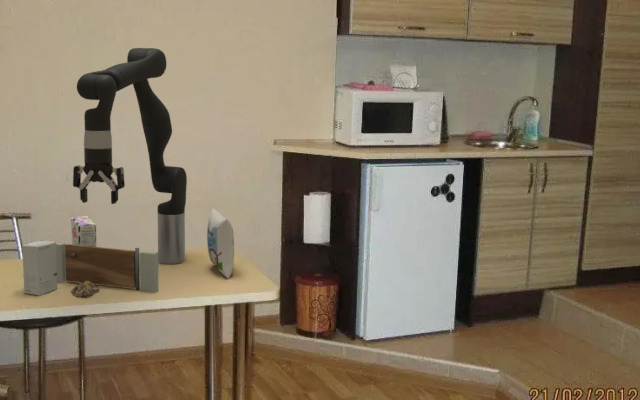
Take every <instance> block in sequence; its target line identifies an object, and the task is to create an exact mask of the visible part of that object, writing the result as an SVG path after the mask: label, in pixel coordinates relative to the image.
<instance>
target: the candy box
mask: <svg viewBox="0 0 640 400" xmlns="http://www.w3.org/2000/svg"><path fill="white" fill-rule="evenodd" d="M70 222H71V223H70V225H71V244H72V245H82V246H92V247H97V224H96V223H95V222H94V221H93V220H92V219H91V218H90V217H89V216H88V215H81V216H71V217H70Z"/></svg>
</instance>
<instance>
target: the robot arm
mask: <svg viewBox="0 0 640 400" xmlns="http://www.w3.org/2000/svg"><path fill="white" fill-rule="evenodd" d="M126 58H127V60H126V62H122V63H118V64H117V63H116V64H114V65H112V66H110V67H107V68H105V69H103V70H96V71H92V72H87V73H85V74H83V75H81V76H80V77H79V78H78V80H77V83H76V91H77V94H78V95H79V97H81V98H83V99H84V100H89V101H98V104H97V106H96V107H93V108H89V109H86V110H85V112H84V114H83V115H84V135H83V150H84V151H83V152H84V153H83V155H84V166H81V165H76V166H73V171H72V172H73V173H72V174H73V175H72V186H73V187H74V188H77V189H79V196H80V197H79V200H80V201H82V203H84V204H85V203H87V202H88V186H89V185H90V184H91V182H92V183H96V182H99V183H105V184H106V185H107V186H108V187H109V188H110V190H111V191H110V203H111V204H112V205H115V204H116V203H117V202H118V200H119V190H121V189H124V188H125V174H124V173H125V172H124V167H123V166H121V167H113V140H112V139H113V138H112V137H113V136H112V132H111V131H112V130H111V129H112V126H111V125H112V123H111V121H112V120H111V116H112V112H113V111H112V110H113V106H114V102H115V99H116V95H117V92H118V91H121V90H124V89H125V88H126V87H129V86H131V85H132V86H133V89H134V92H135V95H136V101H137V104H138V108H139V113H140V119H141V125H142V129H143V134H144V138H145V142H146V143H145V144H146V146H147V152H148V153H147V154H148V159H149V160H148V161H149V170H150V176H151V177H150V178H151V183H152V186H153V189H154V190H155V191H156V192H158V193H163V194H171V196H170V199H169V200H167V201H164V202H161V203H159V204H158V205H157V210H156V211H157V253H158V263H159V264H160V263H161V264H163V265H164V264H165V265H175V264H176V265H177V264H182V263H184V262H185V260H186V221H185V220H186V219H185V218H186V217H185V216H186V214H185V213H186V212H185V211H186V202H187V186H188V185H187V182H188V178H187V172H186V170H185V169H184V168H183V167H181V166H173V165H172V166H171V165H166V164H165V161H164V153H165V150H166V147H167V146H168V144H169V141H170V140H171V137H172V135H173V129H172V127H173V126H172V122H171V116H170V112H169V110H168V109H167V107H166V105H165V104H164V103H163V102H162V100H161V99H160V98H159V97H158V96H157V95H156V94H155V92H154V91H153V89H152V87H151V85H150V82H149V79H155V78H161V77H162V76H163V75H164V74H165V72H166V69H167V57H166V55H165V53H164V51H163V50H161V49H159V48H153V47H152V48H151V47H150V48H148V47H134V48H131V49H130V50H129V51H128V53H127V57H126ZM83 172H84V174H85V175H86V176H85V177H84V178H83V180H81V178H82V177H81V176H82V174H83ZM113 173H114V175H115V176H116V181H115V179H114V177H113V176H112V175H113Z"/></svg>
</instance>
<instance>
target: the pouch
mask: <svg viewBox="0 0 640 400" xmlns="http://www.w3.org/2000/svg"><path fill="white" fill-rule="evenodd" d="M206 231H207V232H206V235H207V236H206V238H207V239H206V240H207V252H208V256H209V259H210V261H211V263H212V264H213V265H214V266H215V267H216V269H217V270H219V272H220V273H221V274H222V275H223V276H224V277H225V278H226V279H230V276H231V275H232V272H233V268H234V262H235V237H234V236H235V235H234V229H233V226H232V223H231V222H230V220H229V219H227V218H225V216H223V215H222V214H221V213H220V212H219V211H218V210H216V209H215V208H214V207H212V209H211V211H210V213H209V217H208V221H207V230H206Z"/></svg>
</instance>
